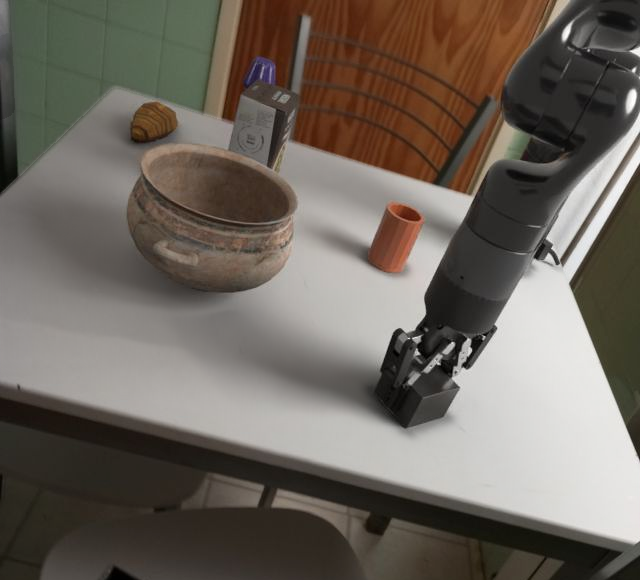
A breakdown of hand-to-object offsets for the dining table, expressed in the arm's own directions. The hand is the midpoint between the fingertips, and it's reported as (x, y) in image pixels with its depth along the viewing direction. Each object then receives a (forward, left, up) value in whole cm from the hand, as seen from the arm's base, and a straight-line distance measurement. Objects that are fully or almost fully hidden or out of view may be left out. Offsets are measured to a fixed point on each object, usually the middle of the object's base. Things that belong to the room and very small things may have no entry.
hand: (410, 400), depth 76 cm
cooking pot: (+12, -27, -1) cm, 30 cm away
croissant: (+1, -64, -1) cm, 64 cm away
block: (0, 0, -1) cm, 1 cm away
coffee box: (-3, -42, -1) cm, 42 cm away
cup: (-18, -26, -1) cm, 32 cm away
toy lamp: (-8, -52, -1) cm, 53 cm away
